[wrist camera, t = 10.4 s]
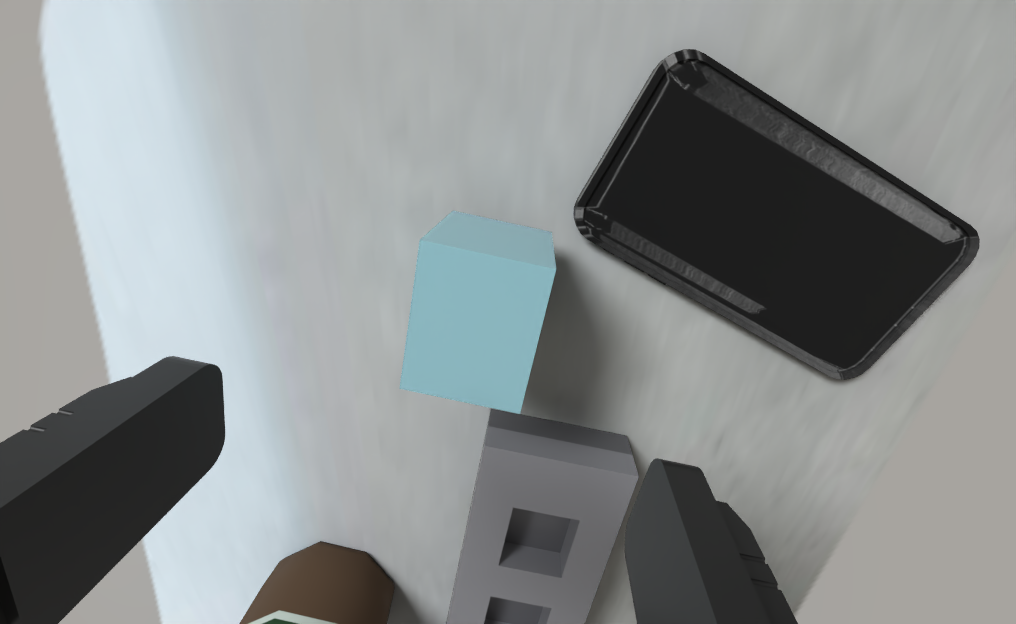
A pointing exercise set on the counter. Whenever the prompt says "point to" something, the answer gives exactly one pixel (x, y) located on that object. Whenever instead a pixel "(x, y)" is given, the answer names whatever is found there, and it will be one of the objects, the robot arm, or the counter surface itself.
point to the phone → (769, 218)
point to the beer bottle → (324, 589)
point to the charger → (477, 310)
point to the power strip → (541, 521)
